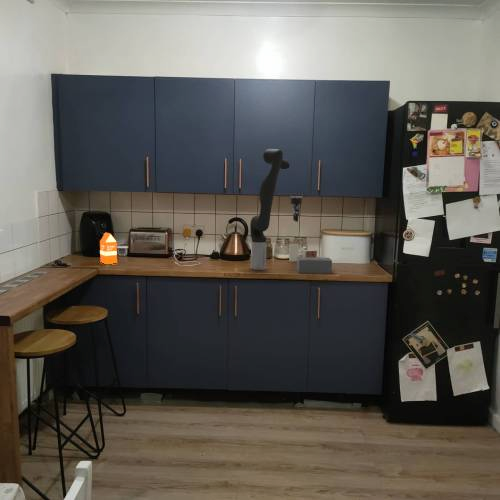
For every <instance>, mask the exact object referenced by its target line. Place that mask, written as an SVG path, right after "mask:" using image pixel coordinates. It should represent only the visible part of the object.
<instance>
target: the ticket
mask: <svg viewBox="0 0 500 500" xmlns="http://www.w3.org/2000/svg"><path fill="white" fill-rule="evenodd" d="M299 247H300V241H289V262H296V263H297V257H299V250H300V249H299Z"/></svg>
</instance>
